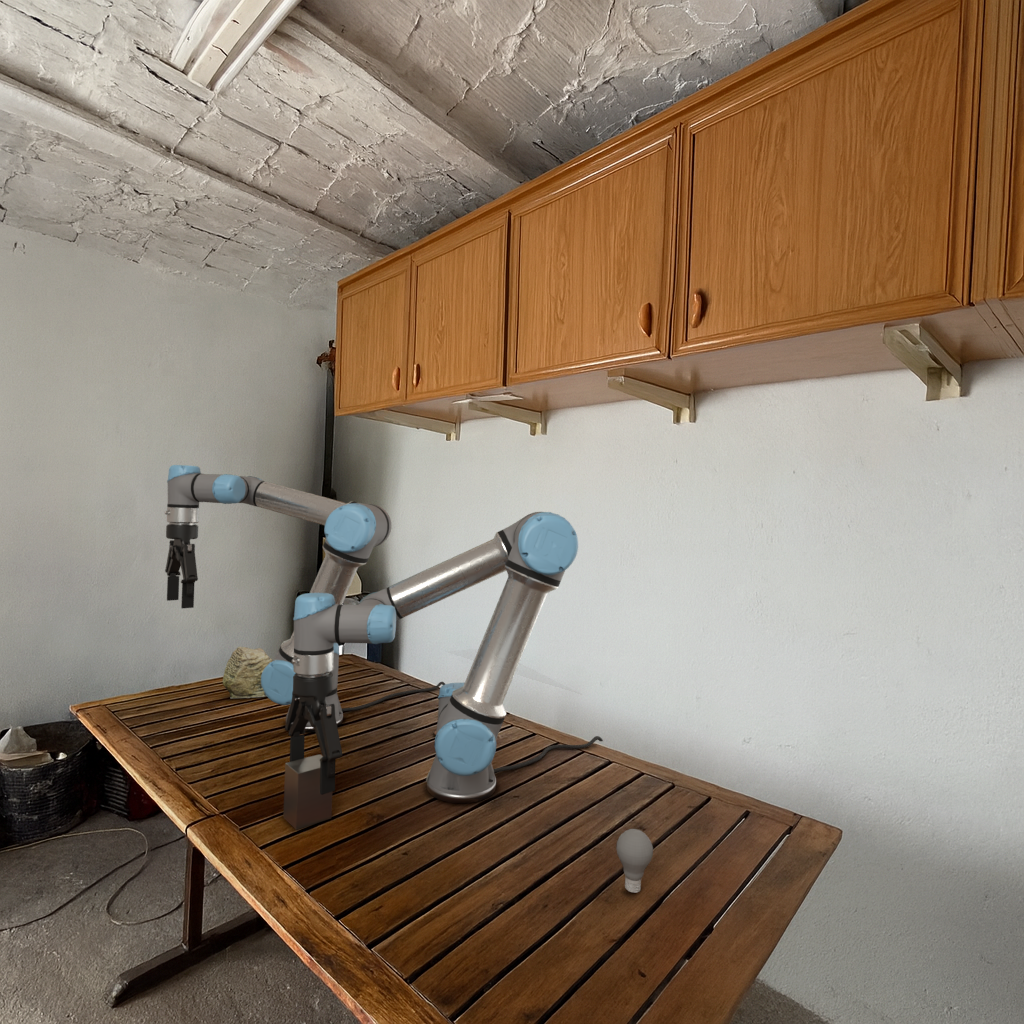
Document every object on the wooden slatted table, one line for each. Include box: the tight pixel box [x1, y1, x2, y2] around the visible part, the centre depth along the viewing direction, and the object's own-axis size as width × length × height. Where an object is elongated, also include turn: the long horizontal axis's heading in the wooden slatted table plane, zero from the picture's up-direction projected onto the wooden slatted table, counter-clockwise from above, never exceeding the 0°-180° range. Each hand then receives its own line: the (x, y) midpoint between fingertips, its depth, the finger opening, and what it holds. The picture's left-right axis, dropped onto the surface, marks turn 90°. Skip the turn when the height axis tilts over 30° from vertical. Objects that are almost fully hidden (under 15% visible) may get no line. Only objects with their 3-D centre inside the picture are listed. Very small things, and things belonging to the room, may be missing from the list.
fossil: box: [222, 646, 274, 699], centre depth 198 cm, size 9×18×15 cm, turn 132°
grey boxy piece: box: [282, 754, 333, 831], centre depth 125 cm, size 6×7×11 cm
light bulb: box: [615, 828, 654, 894], centre depth 106 cm, size 6×6×10 cm
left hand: (179, 604), depth 167 cm, fingers open, 13 cm apart
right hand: (311, 779), depth 125 cm, fingers open, 13 cm apart
